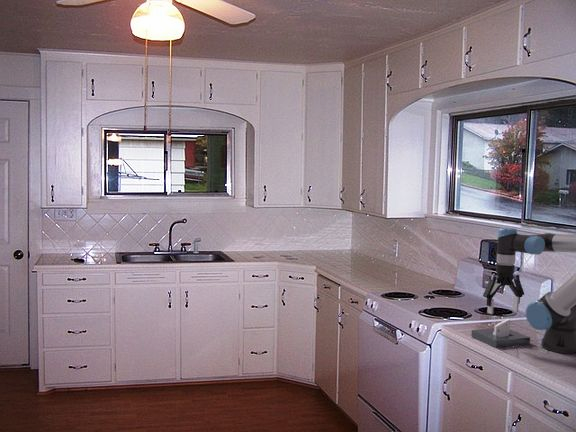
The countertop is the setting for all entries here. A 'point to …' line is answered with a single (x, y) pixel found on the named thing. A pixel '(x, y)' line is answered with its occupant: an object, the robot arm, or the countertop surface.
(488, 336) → the grey square frame
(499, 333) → the white wedge bracket
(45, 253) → the countertop surface
